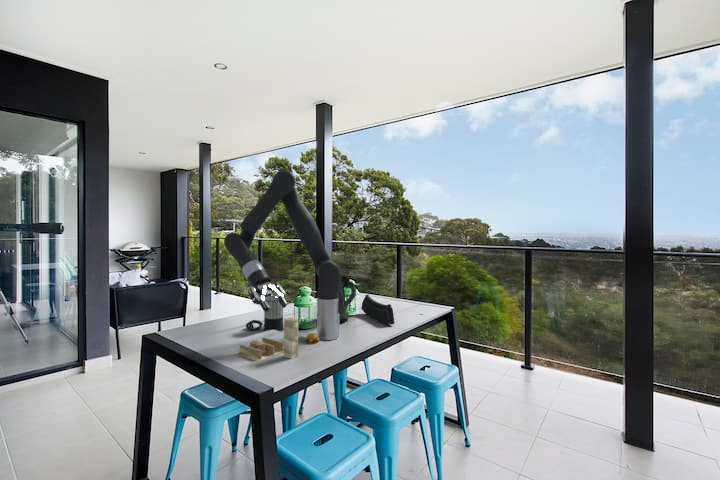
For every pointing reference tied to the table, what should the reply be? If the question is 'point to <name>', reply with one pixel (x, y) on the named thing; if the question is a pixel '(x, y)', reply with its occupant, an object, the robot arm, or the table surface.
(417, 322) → the table surface
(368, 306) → the magazine
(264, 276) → the robot arm
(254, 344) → the offcut stack
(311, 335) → the hamburger
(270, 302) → the milk frother
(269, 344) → the pine rack
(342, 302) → the beer stein
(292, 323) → the tall birch block
